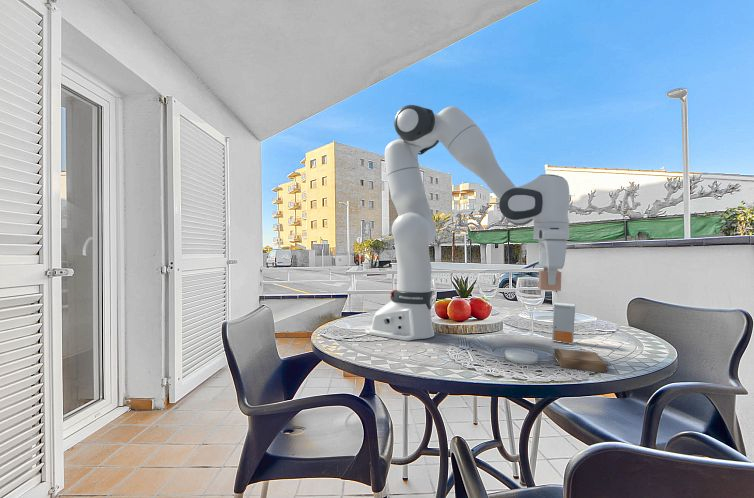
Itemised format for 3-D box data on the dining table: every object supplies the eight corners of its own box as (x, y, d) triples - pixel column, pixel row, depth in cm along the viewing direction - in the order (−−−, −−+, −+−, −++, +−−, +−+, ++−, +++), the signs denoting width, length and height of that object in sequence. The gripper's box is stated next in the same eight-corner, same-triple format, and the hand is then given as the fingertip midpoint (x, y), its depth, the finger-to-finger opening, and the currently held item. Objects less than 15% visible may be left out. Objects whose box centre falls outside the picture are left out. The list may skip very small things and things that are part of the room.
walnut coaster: (560, 367, 92) (560, 358, 92) (554, 355, 101) (554, 347, 101) (606, 372, 89) (606, 363, 89) (595, 360, 98) (595, 351, 98)
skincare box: (551, 342, 116) (553, 303, 115) (552, 339, 119) (553, 302, 119) (573, 345, 113) (575, 305, 113) (573, 342, 117) (575, 304, 116)
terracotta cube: (540, 289, 102) (541, 271, 102) (538, 287, 106) (538, 270, 106) (560, 290, 100) (561, 272, 100) (557, 288, 105) (558, 271, 105)
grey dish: (505, 361, 95) (505, 356, 95) (504, 353, 102) (504, 347, 102) (539, 365, 92) (539, 359, 92) (535, 356, 100) (535, 351, 100)
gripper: (534, 234, 114) (532, 279, 114) (543, 232, 94) (542, 286, 95) (556, 234, 112) (555, 280, 112) (571, 232, 92) (569, 288, 93)
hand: (549, 283), depth 103 cm, fingers closed on terracotta cube, 5 cm apart
